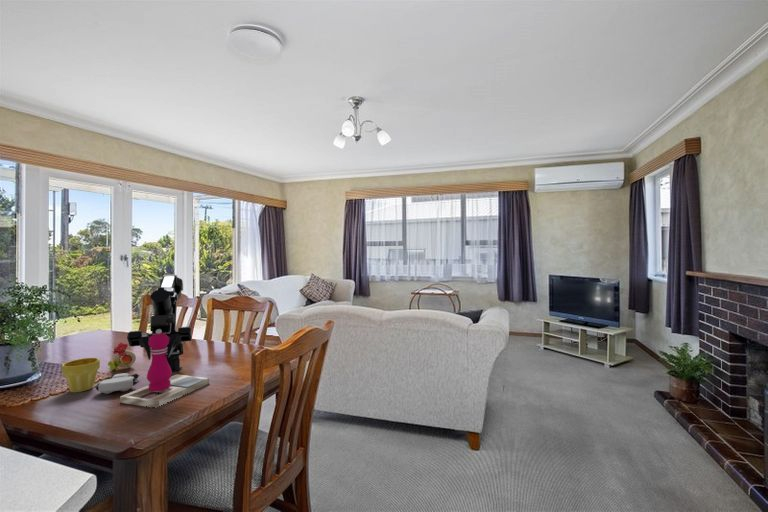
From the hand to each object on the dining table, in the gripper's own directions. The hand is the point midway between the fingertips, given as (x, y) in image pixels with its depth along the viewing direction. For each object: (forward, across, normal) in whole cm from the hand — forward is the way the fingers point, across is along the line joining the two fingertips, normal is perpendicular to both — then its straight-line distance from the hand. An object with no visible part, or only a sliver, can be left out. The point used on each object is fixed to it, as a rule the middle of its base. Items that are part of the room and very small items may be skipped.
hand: (158, 358), depth 122 cm
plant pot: (-5, -26, +24) cm, 36 cm away
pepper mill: (+6, 0, +9) cm, 11 cm away
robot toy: (-1, -14, +21) cm, 26 cm away
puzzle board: (+7, +2, +12) cm, 14 cm away
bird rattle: (-20, -18, +40) cm, 48 cm away
